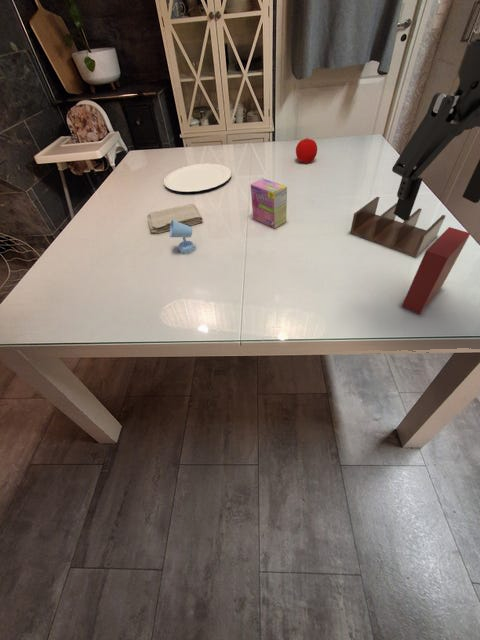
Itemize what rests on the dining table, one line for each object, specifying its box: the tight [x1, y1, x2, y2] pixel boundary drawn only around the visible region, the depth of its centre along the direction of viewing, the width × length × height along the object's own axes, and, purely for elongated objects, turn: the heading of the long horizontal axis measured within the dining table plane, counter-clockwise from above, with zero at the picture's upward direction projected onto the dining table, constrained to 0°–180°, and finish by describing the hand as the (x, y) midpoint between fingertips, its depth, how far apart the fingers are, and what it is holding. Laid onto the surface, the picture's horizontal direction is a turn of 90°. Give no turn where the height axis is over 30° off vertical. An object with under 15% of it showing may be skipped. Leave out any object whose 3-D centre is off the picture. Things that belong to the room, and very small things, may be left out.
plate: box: [163, 162, 232, 193], centre depth 127 cm, size 29×29×2 cm
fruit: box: [295, 136, 318, 164], centre depth 128 cm, size 9×9×10 cm
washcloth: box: [146, 203, 203, 234], centre depth 103 cm, size 12×18×3 cm, turn 109°
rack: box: [349, 196, 446, 258], centre depth 85 cm, size 20×13×6 cm, turn 44°
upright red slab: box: [401, 226, 471, 315], centre depth 64 cm, size 4×11×15 cm, turn 134°
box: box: [250, 178, 288, 229], centre depth 95 cm, size 10×6×12 cm, turn 42°
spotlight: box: [169, 220, 195, 255], centre depth 88 cm, size 5×10×7 cm
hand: (436, 208), depth 50 cm, fingers open, 13 cm apart
